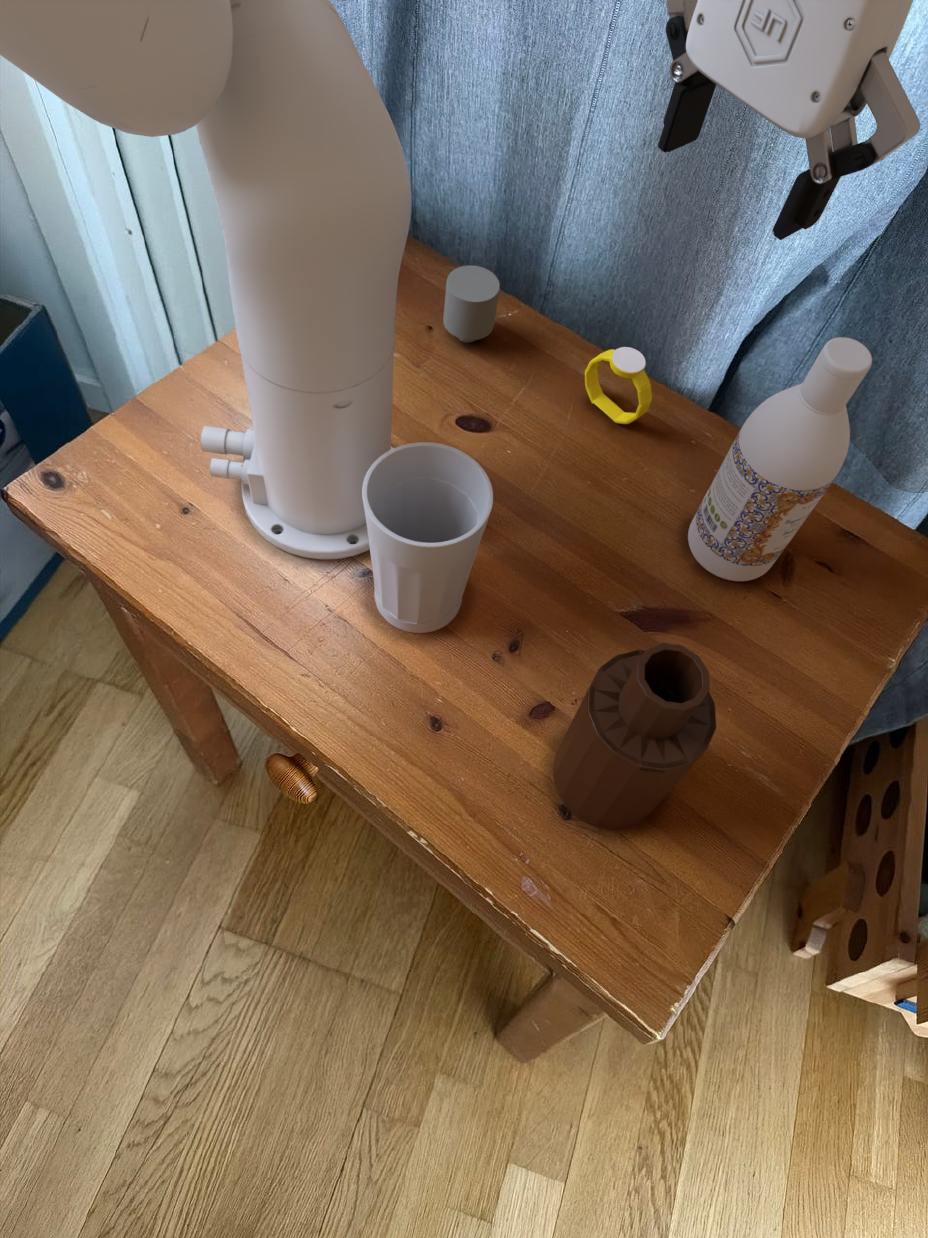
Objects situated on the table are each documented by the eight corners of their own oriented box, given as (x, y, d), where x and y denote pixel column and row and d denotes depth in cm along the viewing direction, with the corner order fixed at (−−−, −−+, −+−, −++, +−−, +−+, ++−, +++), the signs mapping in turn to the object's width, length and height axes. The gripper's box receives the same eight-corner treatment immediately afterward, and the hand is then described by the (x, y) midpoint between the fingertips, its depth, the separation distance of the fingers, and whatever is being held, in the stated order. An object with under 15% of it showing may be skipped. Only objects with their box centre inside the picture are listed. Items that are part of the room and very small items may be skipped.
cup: (372, 542, 67) (373, 433, 56) (478, 556, 67) (498, 451, 57) (354, 635, 63) (352, 536, 52) (467, 650, 63) (487, 555, 53)
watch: (572, 397, 76) (587, 344, 71) (593, 382, 77) (610, 328, 72) (625, 439, 74) (644, 388, 69) (646, 423, 75) (667, 371, 70)
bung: (439, 349, 77) (444, 297, 72) (444, 314, 79) (449, 261, 75) (489, 356, 77) (497, 305, 73) (493, 321, 80) (501, 269, 75)
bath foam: (726, 599, 67) (850, 414, 50) (667, 533, 70) (766, 335, 52) (791, 560, 69) (931, 371, 52) (732, 497, 72) (847, 297, 55)
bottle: (550, 822, 57) (603, 731, 44) (555, 719, 61) (605, 607, 48) (661, 835, 58) (746, 749, 45) (659, 732, 61) (737, 624, 48)
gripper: (678, -221, 42) (594, 130, 57) (978, -54, 37) (799, 289, 51) (779, -242, 45) (674, 97, 60) (1072, -90, 39) (876, 244, 54)
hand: (732, 185), depth 56 cm, fingers open, 9 cm apart
